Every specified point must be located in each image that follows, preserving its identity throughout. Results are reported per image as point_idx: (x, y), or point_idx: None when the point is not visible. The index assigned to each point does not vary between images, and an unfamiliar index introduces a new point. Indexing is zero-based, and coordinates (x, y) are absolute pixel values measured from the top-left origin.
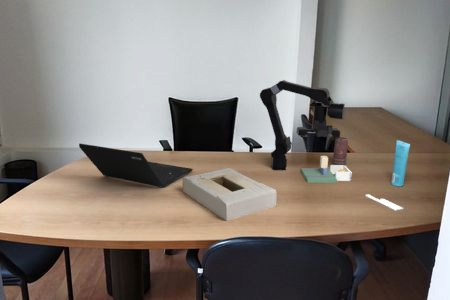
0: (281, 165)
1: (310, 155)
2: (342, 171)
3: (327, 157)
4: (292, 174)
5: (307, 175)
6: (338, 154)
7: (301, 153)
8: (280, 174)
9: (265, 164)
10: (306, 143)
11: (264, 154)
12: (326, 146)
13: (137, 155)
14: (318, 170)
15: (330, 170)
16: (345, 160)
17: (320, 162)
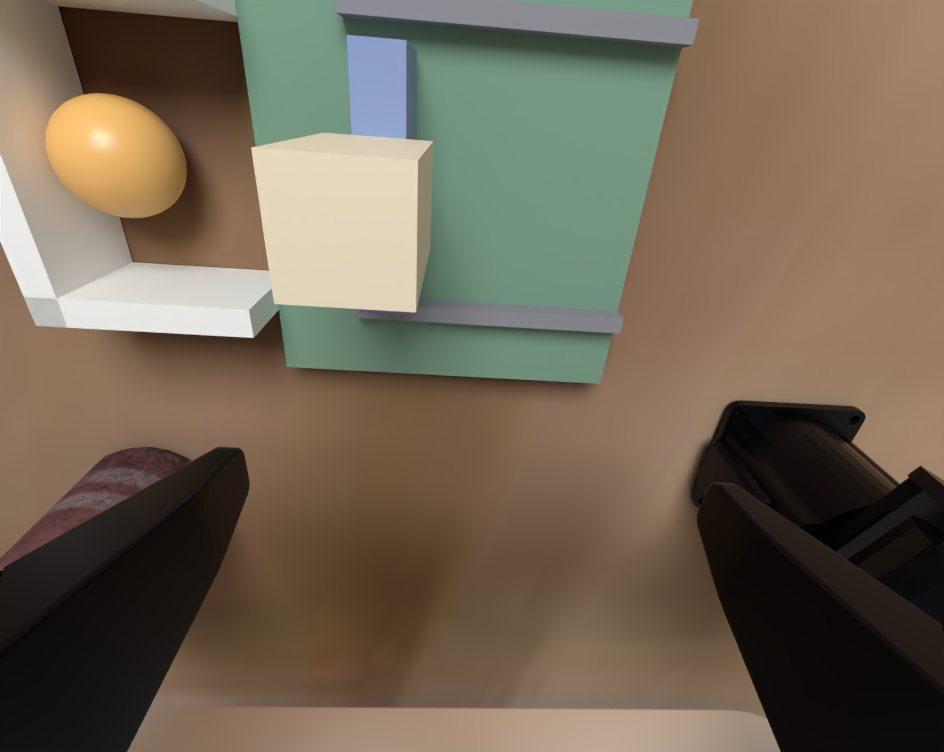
0: (798, 438)
1: (375, 673)
2: (85, 114)
3: (267, 178)
4: (727, 276)
5: (682, 24)
6: None
7: (432, 701)
8: (860, 283)
9: None
10: (889, 623)
11: (708, 690)
12: (191, 538)
13: None
14: (421, 300)
15: (270, 285)
16: (52, 507)
17: (426, 227)
